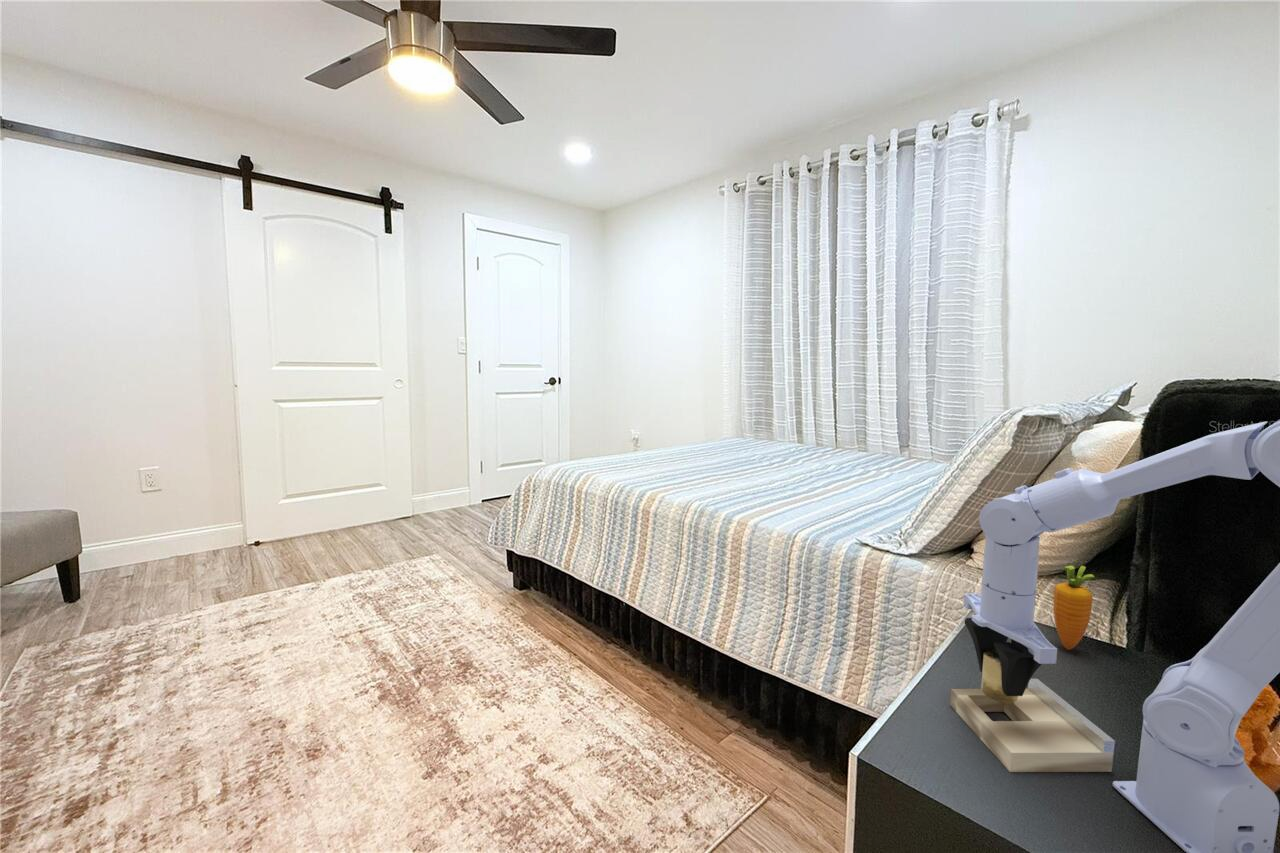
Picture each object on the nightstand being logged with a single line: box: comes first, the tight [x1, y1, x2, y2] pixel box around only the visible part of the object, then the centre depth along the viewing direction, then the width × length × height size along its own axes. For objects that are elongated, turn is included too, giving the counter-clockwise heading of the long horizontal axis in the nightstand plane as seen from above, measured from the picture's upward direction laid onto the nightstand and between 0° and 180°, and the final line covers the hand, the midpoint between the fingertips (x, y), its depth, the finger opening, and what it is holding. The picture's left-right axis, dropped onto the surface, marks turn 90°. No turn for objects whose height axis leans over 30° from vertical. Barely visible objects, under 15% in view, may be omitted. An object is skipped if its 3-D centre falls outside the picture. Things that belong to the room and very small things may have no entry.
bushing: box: [980, 650, 1018, 703], centre depth 68 cm, size 4×4×5 cm
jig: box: [949, 678, 1116, 773], centre depth 66 cm, size 12×12×4 cm
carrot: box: [1053, 565, 1095, 651], centre depth 85 cm, size 5×5×15 cm
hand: (1000, 683), depth 68 cm, fingers closed on bushing, 4 cm apart
